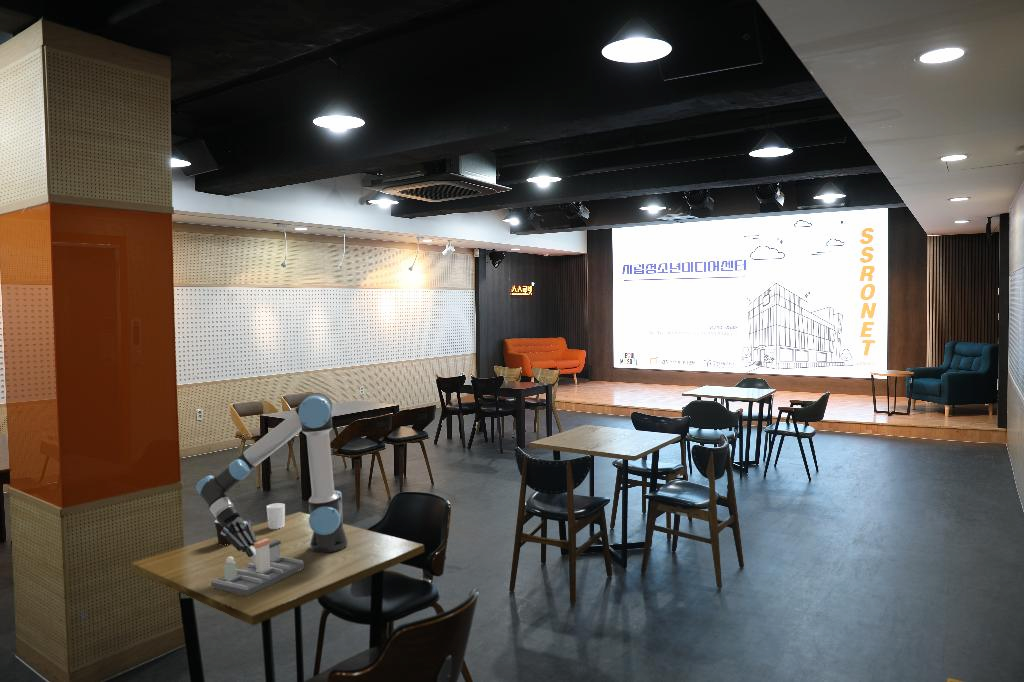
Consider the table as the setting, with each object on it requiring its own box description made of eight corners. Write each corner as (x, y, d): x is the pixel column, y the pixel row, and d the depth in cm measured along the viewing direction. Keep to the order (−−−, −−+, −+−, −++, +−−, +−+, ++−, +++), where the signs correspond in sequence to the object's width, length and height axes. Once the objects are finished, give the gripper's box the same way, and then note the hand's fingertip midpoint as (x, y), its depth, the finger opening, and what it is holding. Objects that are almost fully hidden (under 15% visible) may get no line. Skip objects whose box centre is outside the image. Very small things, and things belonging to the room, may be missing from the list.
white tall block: (253, 574, 251) (252, 542, 250) (265, 568, 256) (264, 538, 255) (261, 575, 249) (260, 544, 249) (273, 570, 254) (271, 539, 254)
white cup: (271, 524, 318) (270, 503, 318) (288, 524, 318) (287, 502, 317) (264, 530, 310) (263, 508, 310) (282, 529, 310) (281, 507, 309)
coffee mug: (229, 547, 289) (228, 523, 288) (211, 546, 290) (210, 522, 290) (245, 537, 300) (244, 515, 300) (228, 537, 302) (227, 514, 301)
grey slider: (264, 562, 262) (263, 544, 262) (275, 557, 267) (274, 539, 267) (271, 564, 260) (271, 545, 260) (282, 559, 265) (282, 540, 265)
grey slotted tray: (211, 587, 246) (210, 578, 246) (269, 561, 270) (269, 553, 270) (247, 595, 238) (247, 586, 237) (304, 568, 262) (303, 560, 261)
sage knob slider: (221, 581, 245) (220, 558, 244) (232, 576, 249) (231, 553, 249) (229, 583, 243) (228, 559, 243) (240, 578, 247) (239, 555, 247)
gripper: (234, 513, 267) (267, 562, 260) (205, 523, 256) (239, 574, 249) (243, 501, 265) (277, 550, 258) (215, 510, 253) (249, 562, 246)
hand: (258, 562), depth 253 cm, fingers closed
